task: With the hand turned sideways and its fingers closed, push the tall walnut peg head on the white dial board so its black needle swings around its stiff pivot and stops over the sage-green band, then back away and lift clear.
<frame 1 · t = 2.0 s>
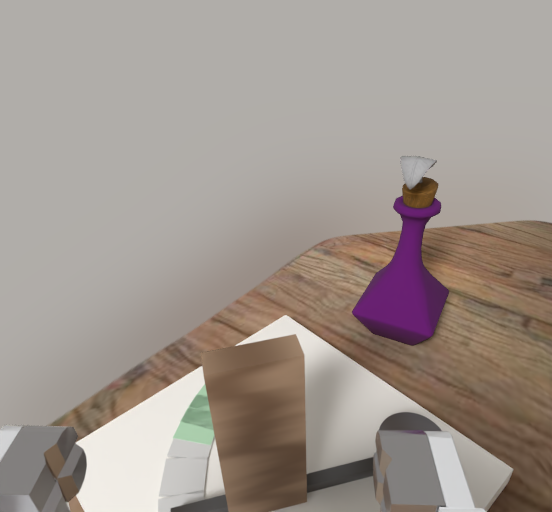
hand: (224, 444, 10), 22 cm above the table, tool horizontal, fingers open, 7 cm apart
perfume bottle: (398, 328, 46), on the table
dial board: (276, 474, 33), on the table
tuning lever: (311, 424, 27), point 8 cm above the table, hinge at 0.0°
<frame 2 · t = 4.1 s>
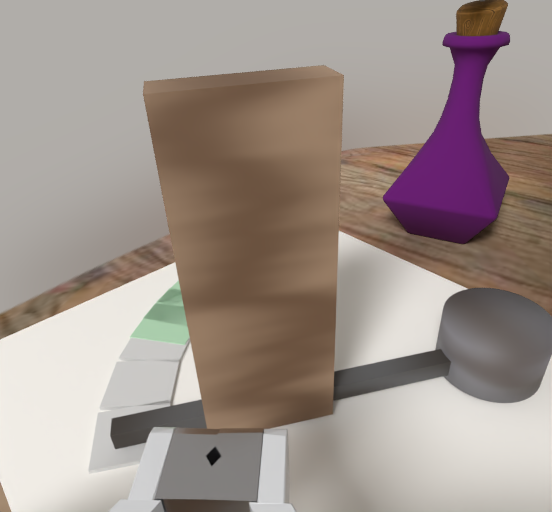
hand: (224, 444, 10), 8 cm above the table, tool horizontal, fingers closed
perfume bottle: (440, 228, 35), on the table
dial board: (282, 387, 22), on the table
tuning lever: (345, 267, 16), point 8 cm above the table, hinge at 0.0°
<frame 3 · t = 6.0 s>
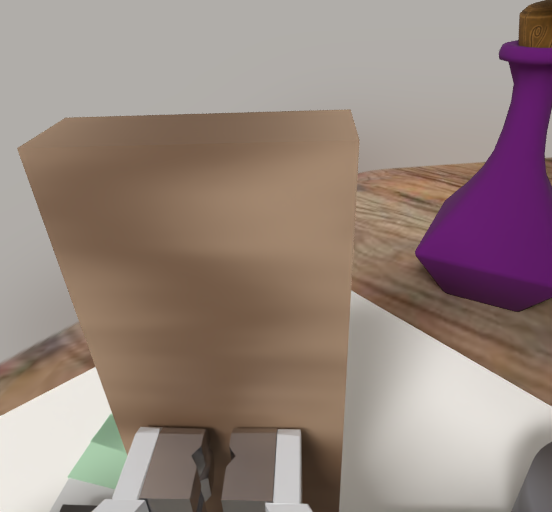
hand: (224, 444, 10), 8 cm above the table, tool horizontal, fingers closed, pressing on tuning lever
perfume bottle: (485, 286, 28), on the table
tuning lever: (367, 405, 10), point 8 cm above the table, hinge at 15.6°, touching gripper
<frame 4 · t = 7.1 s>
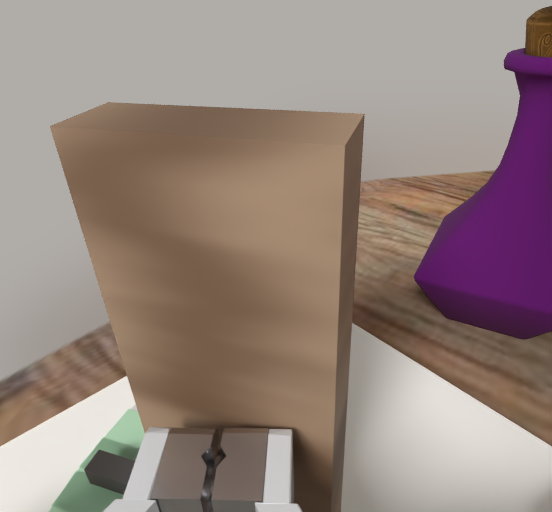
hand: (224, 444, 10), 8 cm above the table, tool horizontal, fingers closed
perfume bottle: (488, 310, 26), on the table
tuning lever: (368, 421, 10), point 8 cm above the table, hinge at 31.7°, touching gripper
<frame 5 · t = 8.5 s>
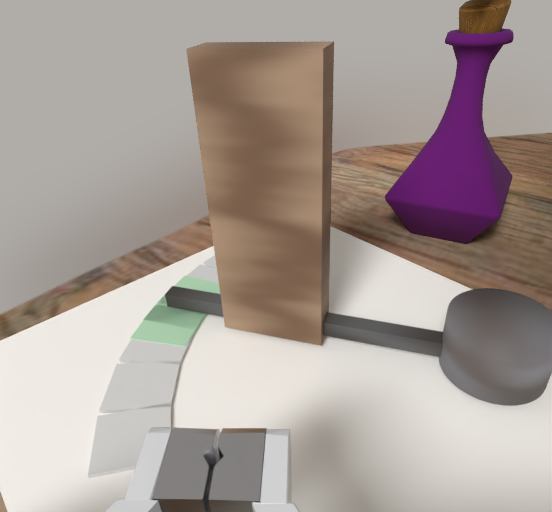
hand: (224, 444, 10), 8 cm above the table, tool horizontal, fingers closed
perfume bottle: (443, 228, 35), on the table
dial board: (284, 389, 22), on the table
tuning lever: (340, 217, 19), point 8 cm above the table, hinge at 31.7°
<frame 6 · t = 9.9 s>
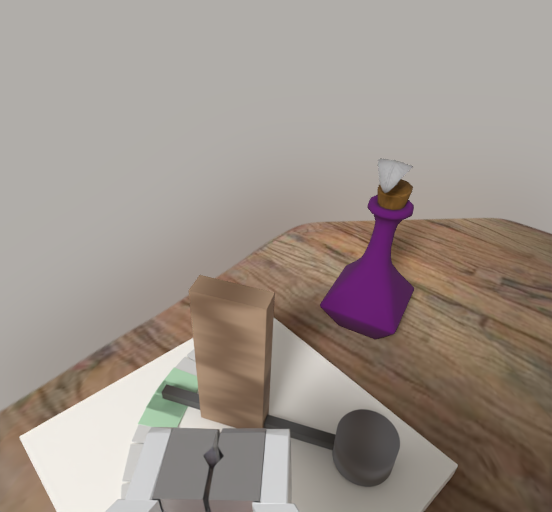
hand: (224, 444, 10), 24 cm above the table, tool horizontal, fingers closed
perfume bottle: (363, 321, 48), on the table
dial board: (237, 461, 35), on the table
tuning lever: (276, 374, 31), point 8 cm above the table, hinge at 31.7°
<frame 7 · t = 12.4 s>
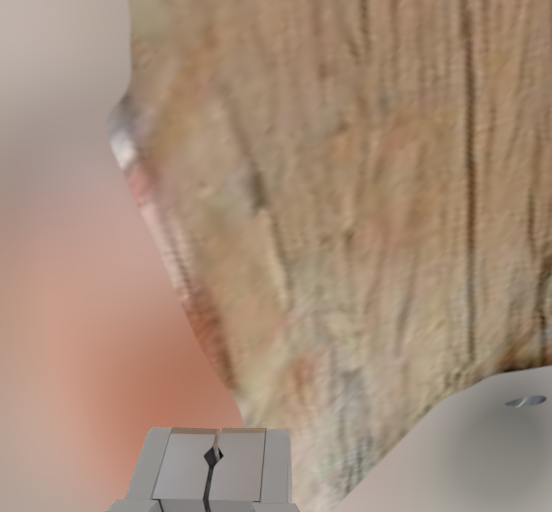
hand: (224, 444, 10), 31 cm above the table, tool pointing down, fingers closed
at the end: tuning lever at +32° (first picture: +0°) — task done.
